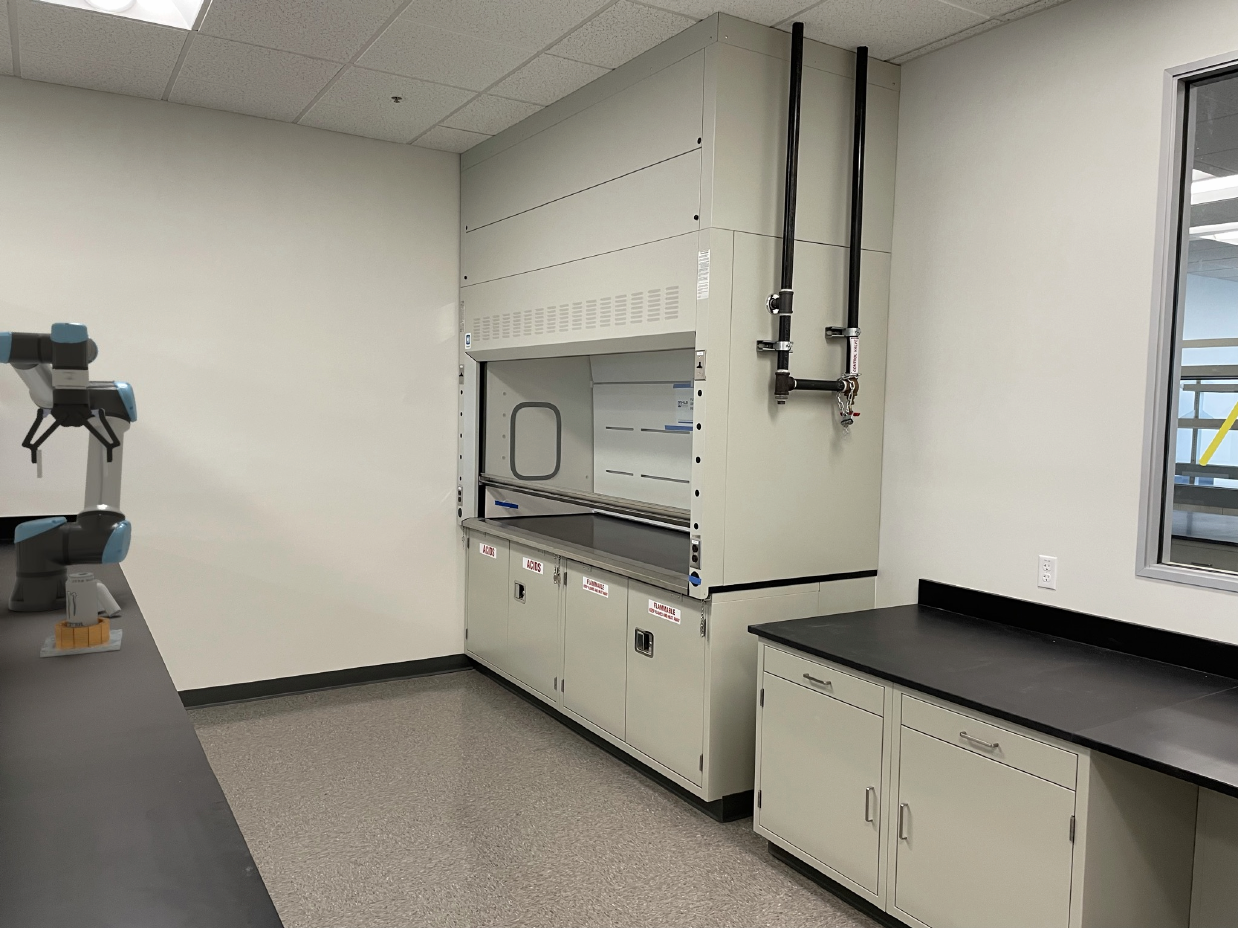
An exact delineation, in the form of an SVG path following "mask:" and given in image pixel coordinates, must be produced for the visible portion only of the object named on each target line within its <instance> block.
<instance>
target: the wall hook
mask: <svg viewBox="0 0 1238 928" xmlns="http://www.w3.org/2000/svg"><path fill="white" fill-rule="evenodd" d="M96 580H97V606H98V613H99V612H103V611H105V612H106V614H107V615H108V617H110V618H111V617H114V616H116V615H118V614H119V613H120V612H121V611H122V609H121V607H120V606H119V604H118V603H117V602H116V600H115V598H114V597H113V596H112V594H111V593H110V591H109V589H108V588H107V587H106V584H104V583H102V581H101V580H100V579H96Z"/></svg>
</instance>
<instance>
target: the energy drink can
mask: <svg viewBox="0 0 1238 928" xmlns="http://www.w3.org/2000/svg"><path fill="white" fill-rule="evenodd" d="M97 580H98V579H96V577H95V576H94V572H89V571H80V572H73V573H70V574H68V580H67V581H66V607H65V609H66V620H67V627H82V626H90V625H95V624H98V617H99V615H98V613H99V612H98V606H97Z"/></svg>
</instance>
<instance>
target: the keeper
mask: <svg viewBox="0 0 1238 928" xmlns="http://www.w3.org/2000/svg"><path fill="white" fill-rule="evenodd" d="M54 633H55V634H52V635H47V636H46V638H45V640H44V642H43V645H42V646H41V649H40V652H39V658H49V657H59V656H69V655H70V656H71V655H79V654H80V655H81V654H82V655H83V654H91V653H101V652H102V653H103V652H110V651H120V650H121V646H122V645H121V644H122V639H123V629H122V628H120V629H110V618H107V617H102V616H98V624H95V625H90V626H82V627H67V619H66V620H62V621H60V622H57V623H55V625H54Z"/></svg>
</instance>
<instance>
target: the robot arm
mask: <svg viewBox="0 0 1238 928" xmlns="http://www.w3.org/2000/svg"><path fill="white" fill-rule="evenodd" d="M98 347H99V346H98V345H97V343H96V341H94V339H92V338H91V337H90V336H89V333H88V327H87V325H86V324H84V323H79V322H54V323H52V324H51V328H50V332H46V333H44V332H21V331H18V332H17V331H9V330H7V331H0V364H6V365H7V364H10V366H11V367H12V369H13V370H14V372H15V373H16V374H17V375H18V376H19V378H20V379H21V380H22V382H23V383H24V385H25V386H26V387H27V389H28V390H29V391H28V393H29V397H30V399H31V401H32V402H33V403H34V405H35V406H37V407H38V408H37V410H36V418H35V420H34V421H33V423H32V425H30V428H29V430H28V432H27V433H26V435H25V437H24V439H23V441H22V442H21V447H23V448H25V449H29V451H30V458H31V459H30V461H31V463H32V464H36V478H37V479H42V478H43V456H42V454H43V451H42V449H39V448H40V446H41V445H42V444H43V443H44V442H45V441H46V440H47V439H48V438H49V437H50V436H51V435H52V434H53V433H54V432H55V431H56V430H57V429H58V428H59V427H60V426H61V427H62V428H70V427H73V428H80V427H82V426H84V427H85V428H86V429H87V430H88V446H87V457H86V459H87V461H86V474H85V475H86V476H85V490H84V501H83V502H84V503H83V505H84V506H83V509H82V510H81V511H79V513H77V516H76V521H74V522H71V521H70V522H67V521H68V519H66V517H64V516H55V517H46V518H40V519H39V518H38V519H35V520H29V521H25V522H22V523H20V524H18V525H17V526H16V527H15V530H14V540H13V543H14V558H15V559H14V561H15V562H14V563H15V580H14V584H13V586H12V587H13V588H12V590H11V593H10V596H9V598H8V609H9V610H10V611H15V612H41V611H42V612H43V611H52V610H59V609H62V608H66V581H67V580H68V578H69V574H68V567H69V566H70V567H71V566H73V567H74V566H90V565H91V566H95V565H103V566H106V565H110V564H111V565H112V564H113V565H114V564H120V563H121V562H124V560H125V559H126V558H127V556H128V553H129V550H130V545H131V541H132V523H131V521H130V520H127V519H126V515H125V514H124V513H123V511H121V510H120V509H121V495H122V494H121V493H122V492H121V490H122V472H123V470H122V469H123V458H124V457H123V455H124V438H125V436H124V435H125V433H126V432H128V431H129V430H130V428H131V423H134V422H137V421H138V411H137V404H136V398H135V393H134V389H133V386H132V385H131V384H130V383H129V382H127V381H118V380H117V381H116V380H111V381H110V380H109V381H108V380H90V371H89V364H92V363H94V362H95V361H96V359H97V357H98V355H99V348H98ZM49 415H51V416H52V418H53V419H54V420H55V421H53V423H52V424H50V426H49V427H48V428H47V429H46V430H45V431H44V432H43V433H42V434H41V435H40V436H39V437H38V439H36V441H34V443H31V442H32V440H33V438H34V436H35V435H36V434H37V431H38V430H39V428H40V425H41V424H42V423H43V420H44V419H45V418H47V417H48V416H49Z"/></svg>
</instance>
